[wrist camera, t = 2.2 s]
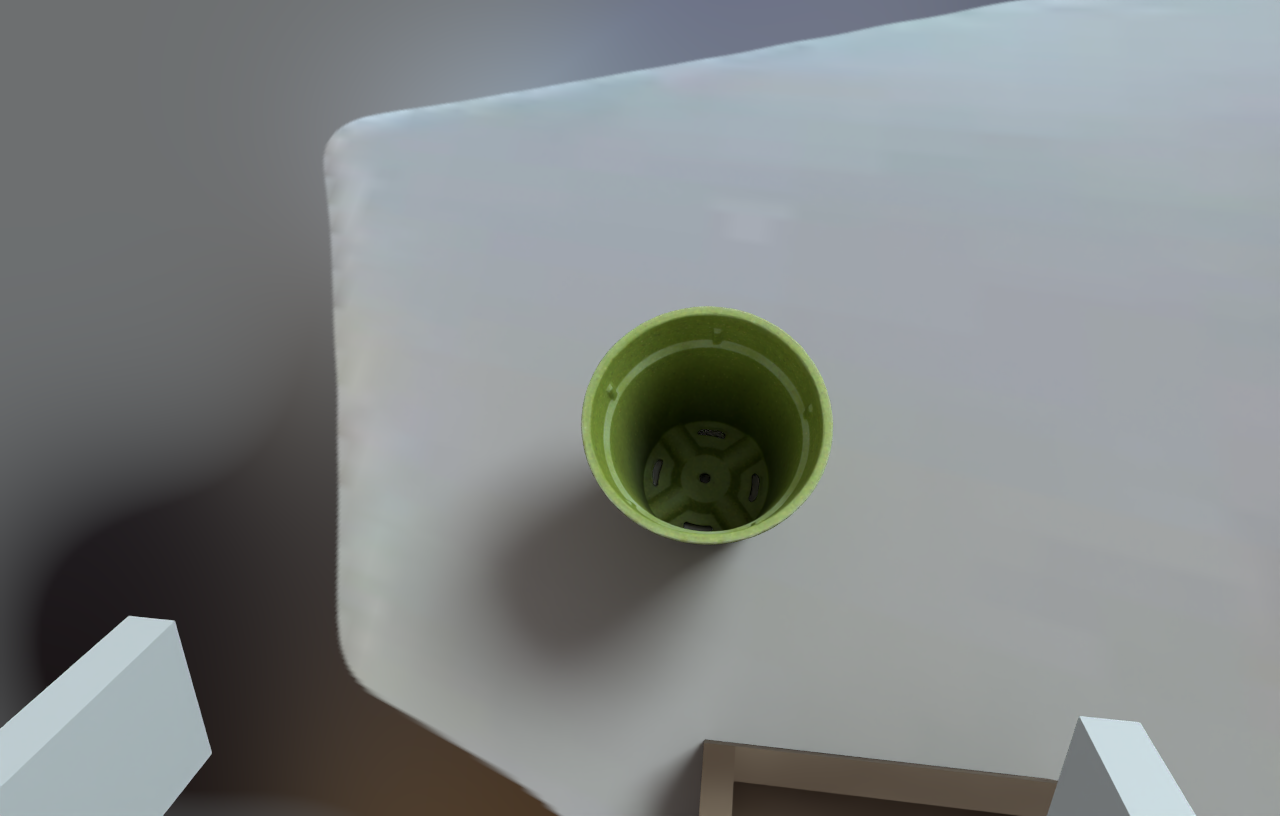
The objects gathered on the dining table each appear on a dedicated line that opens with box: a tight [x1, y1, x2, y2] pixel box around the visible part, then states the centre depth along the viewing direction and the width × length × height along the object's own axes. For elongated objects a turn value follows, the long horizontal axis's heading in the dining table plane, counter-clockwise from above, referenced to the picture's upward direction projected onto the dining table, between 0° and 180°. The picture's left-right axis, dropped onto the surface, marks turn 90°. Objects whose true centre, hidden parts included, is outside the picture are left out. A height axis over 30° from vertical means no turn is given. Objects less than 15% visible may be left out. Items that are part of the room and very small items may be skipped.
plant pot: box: [581, 306, 833, 545], centre depth 33 cm, size 9×9×9 cm
